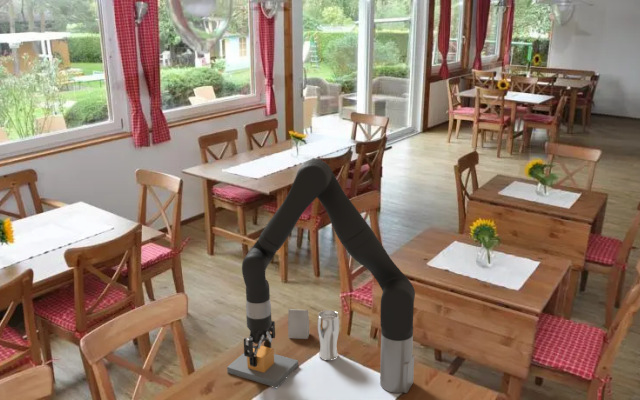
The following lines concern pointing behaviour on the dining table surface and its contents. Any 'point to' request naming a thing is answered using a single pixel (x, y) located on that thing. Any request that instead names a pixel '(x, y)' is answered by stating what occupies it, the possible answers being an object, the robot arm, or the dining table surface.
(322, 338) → the beer glass
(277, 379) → the board
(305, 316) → the grey cardboard box
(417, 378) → the dining table surface
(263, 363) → the matte orange cube
